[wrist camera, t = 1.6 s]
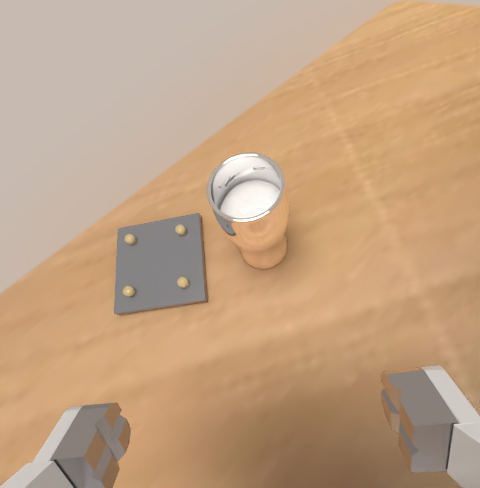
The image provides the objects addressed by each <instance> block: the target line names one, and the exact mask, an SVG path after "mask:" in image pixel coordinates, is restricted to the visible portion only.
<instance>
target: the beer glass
mask: <svg viewBox="0 0 480 488" xmlns="http://www.w3.org/2000/svg"><path fill="white" fill-rule="evenodd" d="M207 197H208V201H209V203H210V205H211V207H212V210H213V212H214V215H215V217H216V219H217V221H218V223H219V225H220V227H221V229H222V230H223V231H224V233H225V234H226V236H227V237H228V238H229V239H230V240H231V241H232V242H233V243H235V244H236V245H237V246H239V247H240V251H241V255H242V257H243V259H244V260H245V261H246V262H247V263H248V264H249V265H251V266H252V267H255V268H259V269H267V268H271V267H274V266H275V265H277V264H278V263H280V262H281V261H282V259H283V258H284V256H285V254H286V251H287V240H286V237H285V235H284V233H285V230H286V227H287V223H288V218H289V201H288V194H287V189H286V185H285V177H284V174H283V171H282V169H281V168H280V166H279V165H278V164H277V163H276V162H275V161H274V160H272V159H271V158H269V157H267V156H265V155H262V154H258V153H241V154H237V155H234V156H232V157H229V158H228V159H226V160H224V161H223V162H222V163H220V164H219V165H218V166H217V167H216V168H215V170H214V171H213V172H212V174H211V176H210V178H209V181H208V184H207Z"/></svg>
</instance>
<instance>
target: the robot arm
mask: <svg viewBox="0 0 480 488" xmlns="http://www.w3.org/2000/svg"><path fill="white" fill-rule="evenodd" d="M381 382H382V384H383V386H384V388H385V389H384V390H383V391H382V392H381V393H382V403H383V408H384V412H385V415H386V417H387V420H388V422H389V425H390V427H391V429H393V430H394V431H395V432H396V433H398V434H399V447H400V449H401V451H402V454H403V456H404V458H405V460H406V462H407V465H408V467H409V469H410V471H411V473H415V472H438V471H447V474H448V475H449V476H451V477H452V478H453V479H454V480H455V481H456V482H457V483H458V484H459V485H460V486H461V487H462V488H480V415H479V414H478V413H477V411H476V410H475V409H474V407H473V406H472V405H471V404H470V402H469V401H468V400H467V398H466V397H465V396H464V395H463V393H462V392H461V391H460V389H459V388H458V387H457V385H456V384H455V383H454V382H453V380H452V379H451V378H450V376H449V375H448V374H447V372H446V371H445V370H444V369H443V368H442V367H441V366H439V365H436V366H428V367H420V368H418V367H416V368H408V369H400V370H392V371H384V372H382V374H381ZM121 410H122V409H121V408H120V406H119V405H118V403H107V404H95V405H84V406H74V407H70V408H69V409H67V410H66V411H65V412H64V414H63V415H62V417H61V418H60V420H59V422H58V423H57V425H56V426H55V428H54V429H53V431H52V433H51V434H50V436H49V437H48V439H47V440H46V442H45V443H44V445H43V447H42V448H41V450H40V451H39V453H38V454H37V456H36V458H35V459H34V461H33V462H31V463H27V464H26V465H25V466H24V467H22V468H21V469H20V470H19V471H18V472H17V473H15V474H14V475H13V476H12V477H11V478H10V479H8V480H7V481H6V482H5V483H4V484H3V485H2V486H0V488H113V485H114V483H115V480H116V477H117V475H118V472H119V470H120V468H119V463H118V461H119V460H120V458H121V457H122V456H123V455H124V454H125V453H126V451H127V448H128V445H129V442H130V433H131V431H130V425H129V423H128V421H127V419H126V418H124V417H122V416H121V415H120V413H121Z"/></svg>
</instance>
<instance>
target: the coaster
mask: <svg viewBox="0 0 480 488" xmlns="http://www.w3.org/2000/svg"><path fill="white" fill-rule="evenodd" d="M202 302H208V299H207V285H206V272H205V259H204V245H203V232H202V218H201V216H200V214H199V213H197V214H191V215H186V216H181V217H176V218H171V219H165V220H160V221H155V222H150V223H145V224H139V225H134V226H129V227H124V228H119V229H118V238H117V260H116V283H115V305H114V314H117V315H123V314H129V313H136V312H143V311H149V310H156V309H162V308H169V307H176V306H182V305H189V304H195V303H202Z"/></svg>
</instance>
